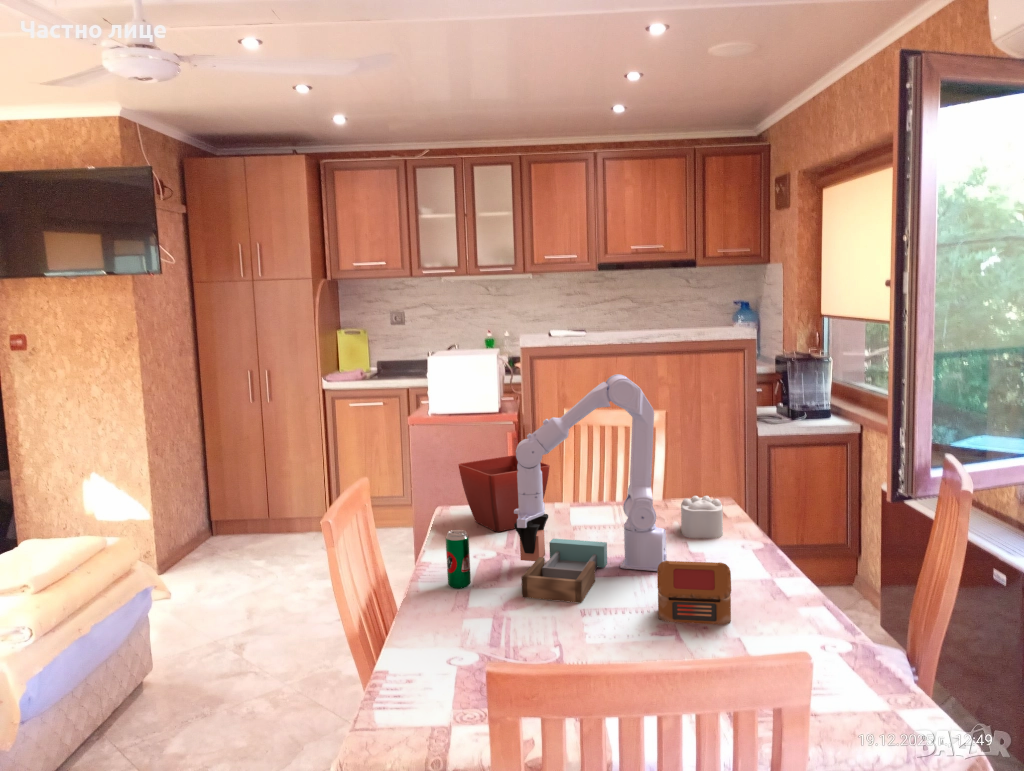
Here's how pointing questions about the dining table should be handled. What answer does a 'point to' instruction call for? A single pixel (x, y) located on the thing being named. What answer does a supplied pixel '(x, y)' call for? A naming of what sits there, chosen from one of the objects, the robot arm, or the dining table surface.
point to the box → (694, 592)
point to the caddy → (557, 584)
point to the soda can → (458, 559)
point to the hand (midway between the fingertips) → (532, 549)
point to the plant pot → (494, 490)
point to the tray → (573, 557)
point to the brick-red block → (538, 548)
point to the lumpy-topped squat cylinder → (702, 518)
